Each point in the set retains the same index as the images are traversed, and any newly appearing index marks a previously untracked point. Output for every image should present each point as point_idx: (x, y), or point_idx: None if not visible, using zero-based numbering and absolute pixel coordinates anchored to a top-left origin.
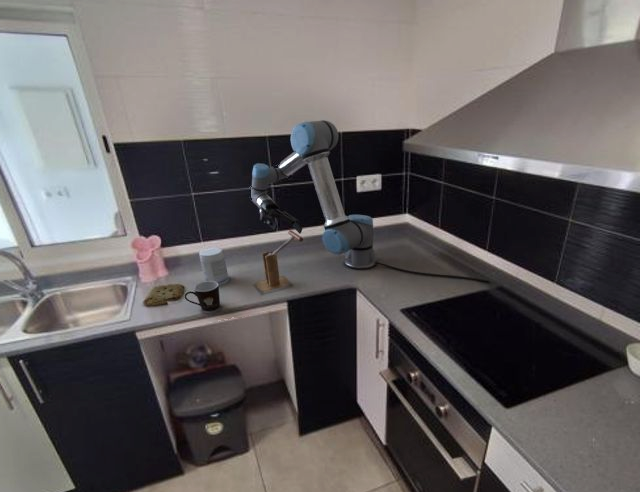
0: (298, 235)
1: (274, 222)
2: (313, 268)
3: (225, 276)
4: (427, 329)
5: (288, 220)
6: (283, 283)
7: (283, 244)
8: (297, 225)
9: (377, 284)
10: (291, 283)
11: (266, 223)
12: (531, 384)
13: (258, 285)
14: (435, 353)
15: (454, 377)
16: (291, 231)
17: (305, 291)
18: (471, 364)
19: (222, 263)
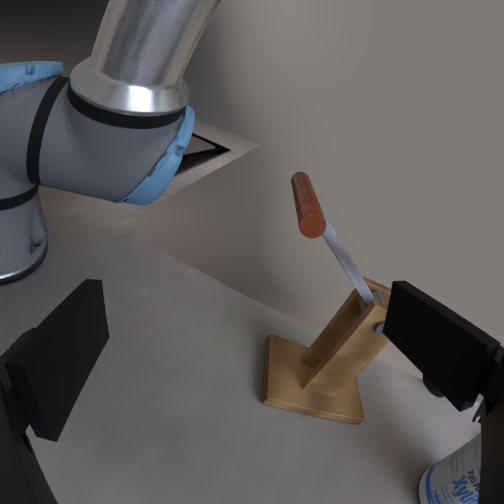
0: (305, 179)
1: (428, 299)
2: (110, 365)
3: (441, 462)
4: (188, 163)
5: (49, 501)
6: (290, 353)
7: (346, 251)
8: (72, 325)
9: (107, 200)
10: (270, 336)
11: (476, 413)
12: (199, 138)
13: (356, 395)
14: (217, 163)
15: (231, 160)
16: (317, 205)
17: (249, 299)
18: (208, 151)
19: (479, 435)
